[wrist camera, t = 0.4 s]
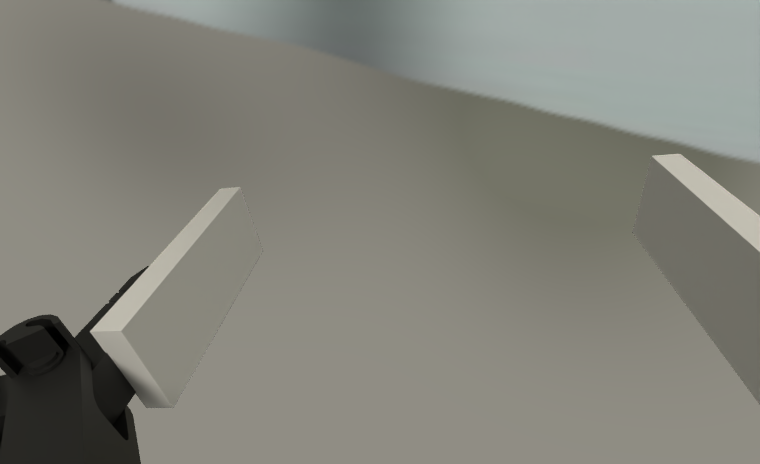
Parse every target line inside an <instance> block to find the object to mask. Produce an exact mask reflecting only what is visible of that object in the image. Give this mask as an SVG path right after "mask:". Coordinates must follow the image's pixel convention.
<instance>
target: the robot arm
mask: <svg viewBox="0 0 760 464" xmlns="http://www.w3.org/2000/svg"><path fill="white" fill-rule="evenodd" d="M632 233H633V234H634V236H635V237H636V238H637V240H638V241H639V242H640V244H641V245H642V246H643V248H644V249H645V250H646V252H647V253H648V254H649V256H650V257H651V258H652V259H653V261H654V262H655V264H656V265H657V267H658V268H659V269H660V271H661V272H662V273H663V274H664V276H665V277H666V279H667V280H668V281H669V282H670V284H671V285H672V287H673V288H674V289H675V291H676V292H677V293H678V295H679V296H680V297H681V299H682V300H683V302H684V303H685V304H686V306H687V307H688V308H689V310H690V311H691V312H692V314H693V315H694V316H695V318H696V319H697V320H698V322H699V323H700V325H701V326H702V327H703V329H704V330H705V331H706V333H707V334H708V335H709V337H710V338H711V339H712V341H713V342H714V343H715V345H716V346H717V347H718V349H719V350H720V352H721V353H722V354H723V355H724V357H725V358H726V360H727V361H728V362H729V364H730V365H731V366H732V368H733V369H734V370H735V372H736V373H737V374H738V376H739V377H740V378H741V380H742V381H743V383H744V384H745V385H746V387H747V388H748V389H749V391H750V392H751V393H752V395H753V396H754V397H755V399H756V400H757V401H758V403H759V404H760V216H759V215H758V214H756V213H755V212H754V211H753V210H751V209H750V208H749V207H747V206H746V205H745V204H744V203H742V202H741V201H740V200H738V199H737V198H736V197H735V196H733V195H732V194H731V193H729V192H728V191H727V190H726V189H724V188H723V187H722V186H720V185H719V184H718V183H717V182H715V181H714V180H713V179H711V178H710V177H709V176H708V175H706V174H705V173H704V172H702V171H701V170H700V169H699V168H697V167H696V166H694V165H693V164H692V163H691V162H689V161H688V160H687V159H685V157H683V156H682V155H681V154H671V155H658V156H651V160H650V164H649V168H648V172H647V176H646V180H645V184H644V188H643V192H642V196H641V200H640V204H639V208H638V212H637V216H636V220H635V224H634V228H633V232H632ZM262 252H263V249H262V246H261V243H260V240H259V238H258V235H257V232H256V229H255V227H254V224H253V221H252V218H251V215H250V212H249V209H248V207H247V204H246V201H245V198H244V195H243V193H242V190H241V187H233V188H220V189H219V190H218V191H217V192H216V194H215V195H214V196H213V197H212V198H211V199H210V200H209V201H208V202H207V203H206V205H205V206H204V207H203V208H202V209H201V210H200V211H199V212H198V213H197V214H196V216H195V217H194V218H193V219H192V220H191V221H190V222H189V223H188V224H187V225H186V226H185V228H184V229H183V230H182V231H181V232H180V233H179V234H178V235H177V236H176V237H175V239H174V240H173V241H172V242H171V243H170V244H169V245H168V246H167V247H166V249H165V250H164V251H163V252H162V253H161V254H160V255H159V256H158V257H157V258H156V259H155V261H154V262H153V263H152V264H151V265H150V266H147V267H146V268H144V269H143V270H141V271H140V272H139V273H137V274H136V275H134V276H132V277H131V278H130V279H129V280H128V281H127V282H126V283H125V285H123V287H122V288H121V289H120V290H119V293H116V294H115V295H114V296H113V297H112V298H111V299H110V300H109V304H106V305H105V306H104V307H103V308H102V309H101V310H100V311H99V312H98V313H97V314H96V315H95V316H94V317H93V319H92V320H91V321H90V322H89V323H88V324H87V325H86V326H85V327H84V328H83V329H82V330H81V332H79V334H78V335H77V336H76V337H75V338H74V337H73V336H72V335H71V333H70V332H69V331H68V329H67V328H66V327H65V326H64V324H63V323H62V322H61V320H60V319H59V318H58V317H57V316H54V315H41V316H37V317H34V318H31V319H28V320H26V321H23V322H21V323H19V324H17V325H15V326H14V327H12V328H10V329H9V330H7V331H6V332H5V333H3V334H2V335H0V368H1V369H2V370H3V371H4V372H5V373H6V375H2V376H0V464H141V462H140V456H139V449H138V443H137V437H136V431H135V426H134V419H133V414H132V413H131V410H130V409H129V408H128V406H127V405H128V403H129V402H130V400H131V399H132V397H133V396H134V394H135V393H136V395H137V396H138V397H139V399H140V400H141V401H142V403H143V404H144V405H145V407H146V408H174V406H175V405H176V403H177V401H178V399H179V397H180V395H181V394H182V392H183V391H184V389H185V387H186V385H187V383H188V382H189V380H190V378H191V376H192V375H193V373H194V371H195V369H196V368H197V366H198V364H199V362H200V361H201V359H202V357H203V355H204V354H205V352H206V350H207V348H208V347H209V345H210V343H211V341H212V340H213V338H214V336H215V334H216V333H217V331H218V329H219V327H220V326H221V324H222V322H223V320H224V319H225V317H226V315H227V313H228V311H229V310H230V308H231V306H232V304H233V303H234V301H235V299H236V297H237V296H238V294H239V292H240V290H241V289H242V287H243V285H244V283H245V282H246V280H247V278H248V276H249V275H250V273H251V271H252V269H253V267H254V266H255V264H256V262H257V261H258V259H259V257H260V255H261V254H262Z"/></svg>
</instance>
